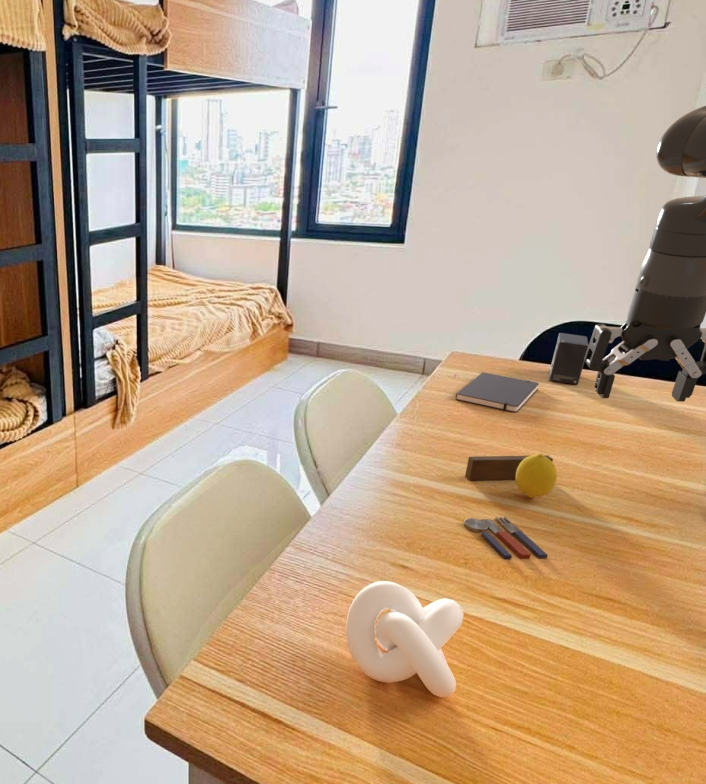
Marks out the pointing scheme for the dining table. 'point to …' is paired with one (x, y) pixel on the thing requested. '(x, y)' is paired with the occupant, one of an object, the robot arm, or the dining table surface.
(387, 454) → the dining table surface
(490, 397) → the notebook
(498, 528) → the cutlery
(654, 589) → the dining table surface
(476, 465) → the back rail
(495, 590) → the dining table surface
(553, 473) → the lemon
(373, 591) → the white knot sculpture
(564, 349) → the small box
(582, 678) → the dining table surface
